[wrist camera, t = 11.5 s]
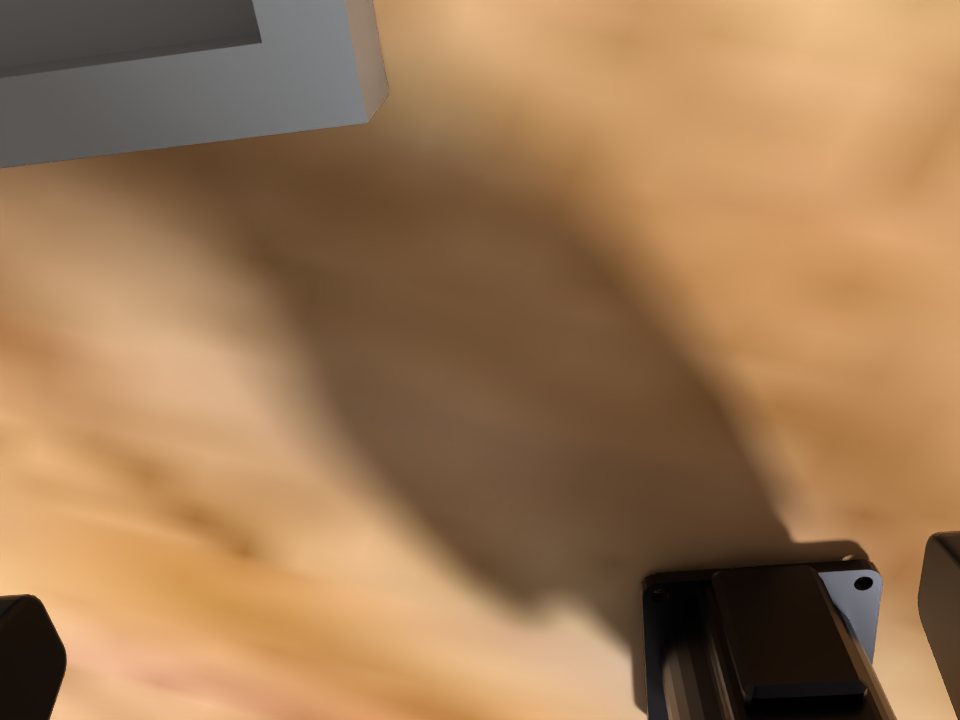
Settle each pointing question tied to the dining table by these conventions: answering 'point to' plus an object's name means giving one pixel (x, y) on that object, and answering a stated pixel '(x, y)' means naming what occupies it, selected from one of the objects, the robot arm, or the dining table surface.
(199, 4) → the tray
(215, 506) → the dining table surface
